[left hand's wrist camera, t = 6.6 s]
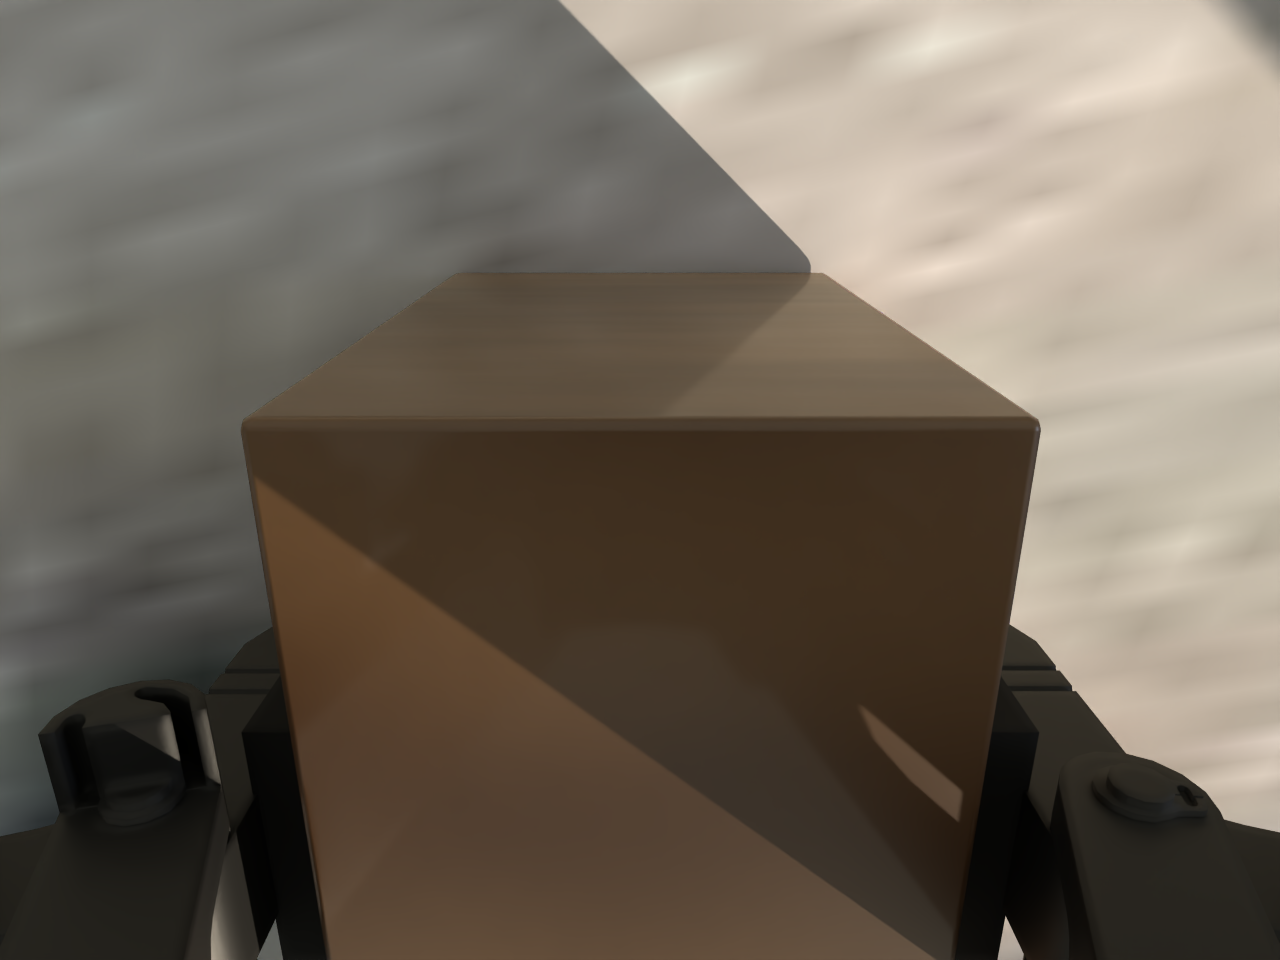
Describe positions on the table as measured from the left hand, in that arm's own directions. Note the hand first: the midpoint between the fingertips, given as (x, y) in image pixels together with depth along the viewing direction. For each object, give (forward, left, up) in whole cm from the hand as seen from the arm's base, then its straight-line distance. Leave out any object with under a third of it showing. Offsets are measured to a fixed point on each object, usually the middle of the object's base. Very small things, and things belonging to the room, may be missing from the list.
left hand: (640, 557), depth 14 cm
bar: (+3, +25, -1) cm, 26 cm away
